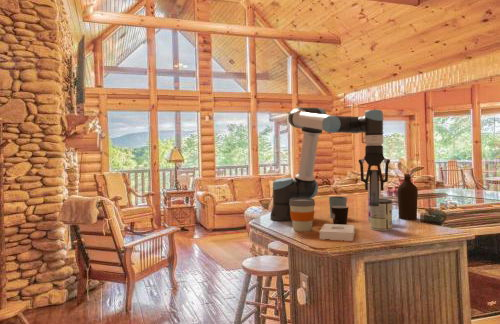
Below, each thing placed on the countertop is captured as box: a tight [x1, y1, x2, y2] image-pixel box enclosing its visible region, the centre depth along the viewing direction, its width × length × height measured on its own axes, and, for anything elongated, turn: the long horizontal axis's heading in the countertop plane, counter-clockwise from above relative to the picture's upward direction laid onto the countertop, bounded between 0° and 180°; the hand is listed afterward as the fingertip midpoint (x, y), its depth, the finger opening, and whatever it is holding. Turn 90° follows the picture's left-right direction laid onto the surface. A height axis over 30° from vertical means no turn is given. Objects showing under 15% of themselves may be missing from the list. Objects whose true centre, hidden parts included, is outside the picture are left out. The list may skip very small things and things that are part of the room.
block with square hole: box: [319, 223, 356, 242], centre depth 170 cm, size 18×14×4 cm
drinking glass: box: [328, 196, 348, 219], centre depth 218 cm, size 10×10×12 cm
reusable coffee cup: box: [289, 198, 316, 232], centre depth 185 cm, size 12×13×15 cm
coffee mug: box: [331, 205, 349, 225], centre depth 193 cm, size 12×9×10 cm
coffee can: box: [369, 198, 393, 232], centre depth 184 cm, size 10×10×14 cm
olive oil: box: [396, 173, 419, 221], centre depth 212 cm, size 11×11×25 cm
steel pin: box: [368, 169, 380, 206], centre depth 167 cm, size 4×4×16 cm
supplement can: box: [367, 193, 385, 223], centre depth 203 cm, size 8×8×15 cm
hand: (374, 197), depth 167 cm, fingers closed on steel pin, 4 cm apart
